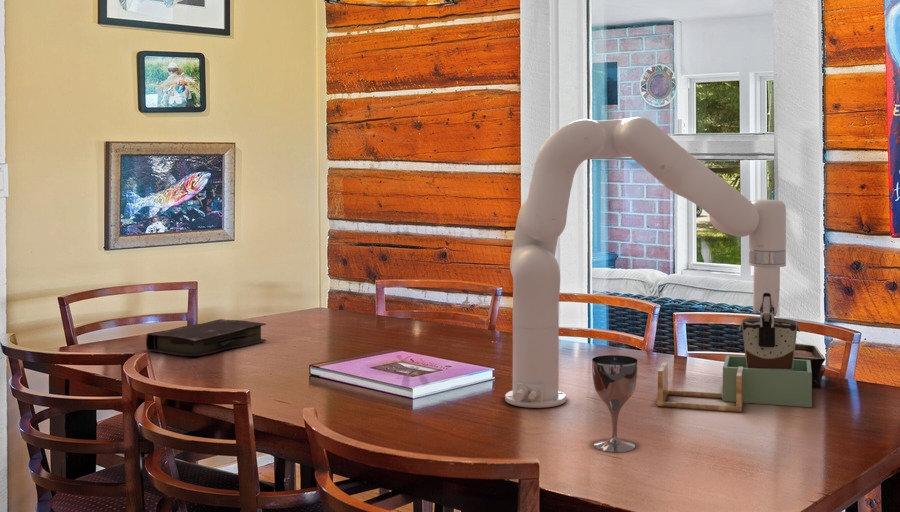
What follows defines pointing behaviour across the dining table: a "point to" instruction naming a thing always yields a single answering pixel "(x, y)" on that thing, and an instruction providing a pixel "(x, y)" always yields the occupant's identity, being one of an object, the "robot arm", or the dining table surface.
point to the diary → (205, 337)
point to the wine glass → (614, 392)
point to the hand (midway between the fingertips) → (767, 342)
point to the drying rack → (696, 393)
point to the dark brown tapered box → (814, 356)
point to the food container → (770, 356)
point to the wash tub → (769, 383)
